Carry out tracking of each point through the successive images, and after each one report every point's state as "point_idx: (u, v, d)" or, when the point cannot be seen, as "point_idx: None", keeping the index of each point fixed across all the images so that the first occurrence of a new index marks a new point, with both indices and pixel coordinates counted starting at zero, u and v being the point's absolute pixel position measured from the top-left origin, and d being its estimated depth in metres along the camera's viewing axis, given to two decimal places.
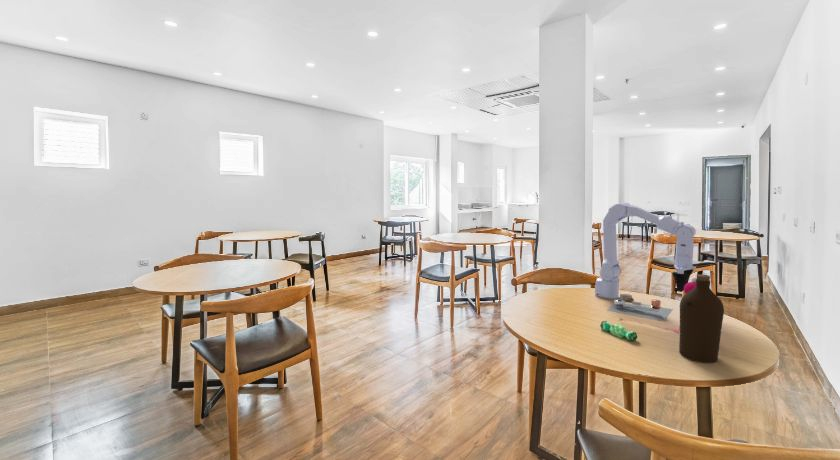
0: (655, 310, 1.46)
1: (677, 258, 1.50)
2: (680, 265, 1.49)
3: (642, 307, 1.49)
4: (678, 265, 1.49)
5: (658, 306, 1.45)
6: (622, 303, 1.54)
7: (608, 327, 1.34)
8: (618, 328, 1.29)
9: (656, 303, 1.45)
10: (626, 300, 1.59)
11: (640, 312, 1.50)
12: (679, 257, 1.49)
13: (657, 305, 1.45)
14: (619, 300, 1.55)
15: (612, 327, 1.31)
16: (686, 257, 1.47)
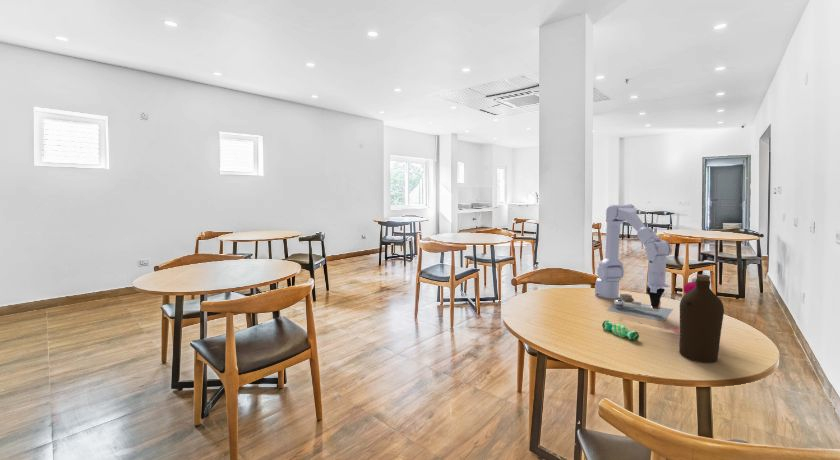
0: (655, 310, 1.46)
1: (650, 276, 1.43)
2: (653, 283, 1.42)
3: (642, 307, 1.49)
4: (651, 283, 1.43)
5: (658, 306, 1.45)
6: (622, 303, 1.54)
7: (610, 327, 1.34)
8: (620, 328, 1.30)
9: None
10: (626, 300, 1.59)
11: (640, 312, 1.50)
12: (652, 275, 1.42)
13: None
14: (619, 300, 1.55)
15: (614, 327, 1.32)
16: (659, 275, 1.41)
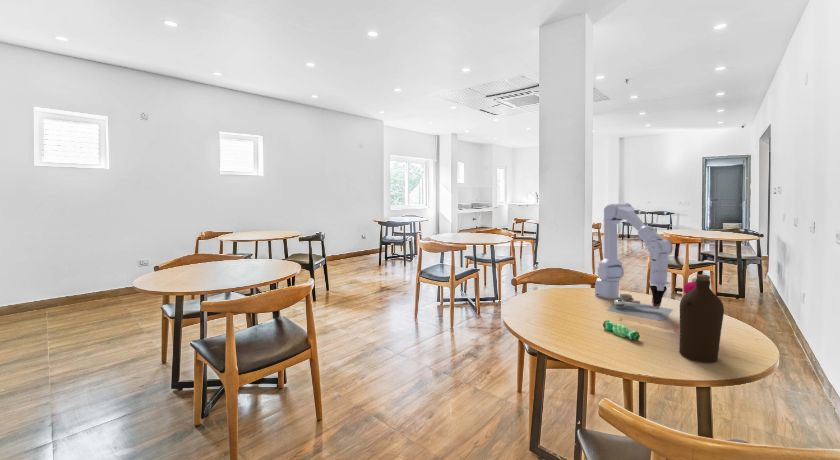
0: (656, 307, 1.49)
1: (653, 274, 1.46)
2: (657, 281, 1.45)
3: (643, 305, 1.51)
4: (655, 281, 1.45)
5: None
6: (623, 303, 1.54)
7: (611, 327, 1.34)
8: (620, 328, 1.30)
9: None
10: (626, 300, 1.59)
11: (640, 312, 1.50)
12: (656, 273, 1.45)
13: None
14: (620, 300, 1.55)
15: (614, 327, 1.32)
16: (663, 273, 1.44)
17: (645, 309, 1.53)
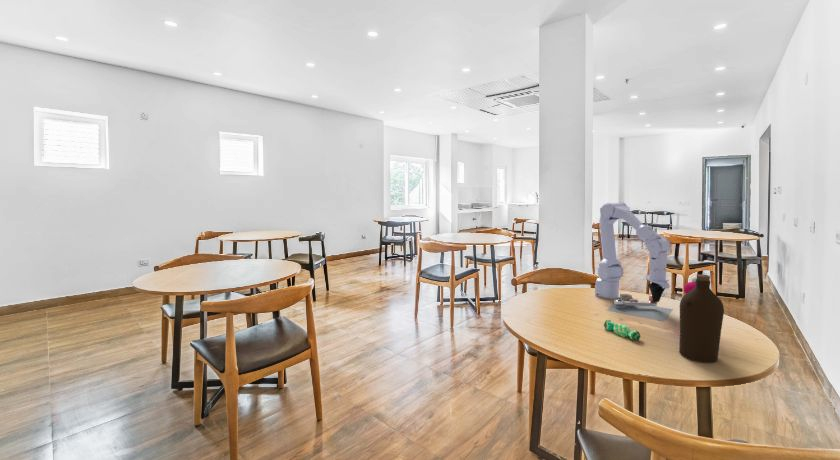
0: (654, 304, 1.53)
1: (655, 272, 1.48)
2: (658, 279, 1.48)
3: (642, 303, 1.53)
4: (656, 279, 1.48)
5: None
6: (624, 303, 1.54)
7: (611, 326, 1.34)
8: (621, 327, 1.30)
9: None
10: (626, 300, 1.59)
11: (640, 312, 1.50)
12: (657, 271, 1.48)
13: None
14: (620, 300, 1.55)
15: (615, 326, 1.32)
16: (664, 271, 1.47)
17: (645, 309, 1.53)
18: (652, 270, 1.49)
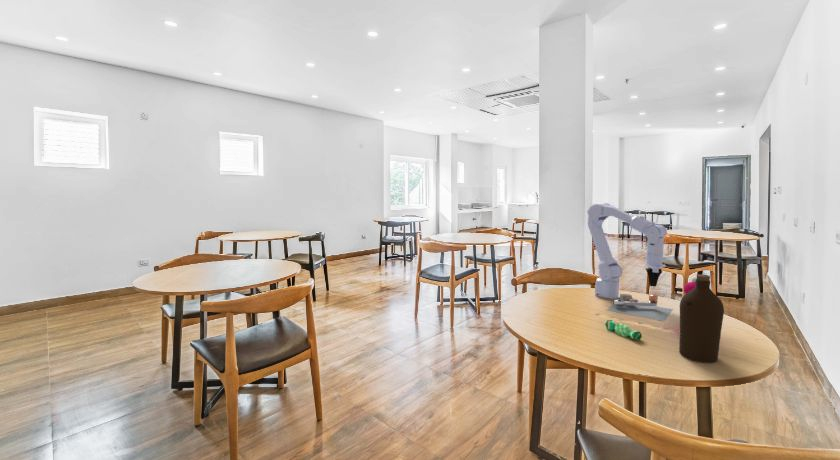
0: (654, 304, 1.53)
1: (649, 257, 1.54)
2: (652, 264, 1.53)
3: (642, 303, 1.53)
4: (650, 264, 1.54)
5: (657, 300, 1.52)
6: (624, 303, 1.54)
7: (613, 326, 1.34)
8: (623, 327, 1.30)
9: (656, 298, 1.52)
10: (626, 300, 1.59)
11: (640, 312, 1.50)
12: (651, 256, 1.53)
13: (656, 300, 1.52)
14: (620, 300, 1.55)
15: (617, 326, 1.32)
16: (658, 256, 1.52)
17: (645, 309, 1.53)
18: (647, 255, 1.55)
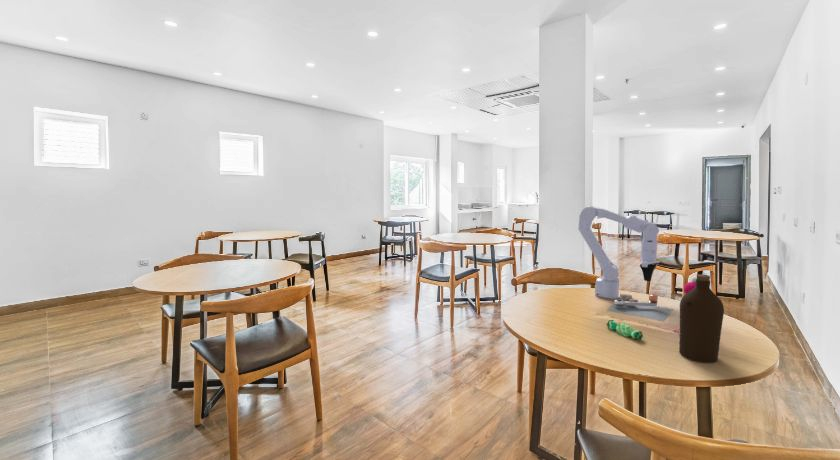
0: (654, 304, 1.53)
1: (642, 253, 1.63)
2: (645, 259, 1.62)
3: (642, 303, 1.53)
4: (643, 259, 1.63)
5: (657, 300, 1.52)
6: (624, 303, 1.54)
7: (614, 326, 1.34)
8: (624, 327, 1.30)
9: (656, 298, 1.52)
10: (626, 300, 1.59)
11: (640, 312, 1.50)
12: (644, 252, 1.62)
13: (656, 300, 1.52)
14: (620, 300, 1.55)
15: (618, 326, 1.32)
16: (650, 252, 1.61)
17: (645, 309, 1.53)
18: (641, 251, 1.64)
